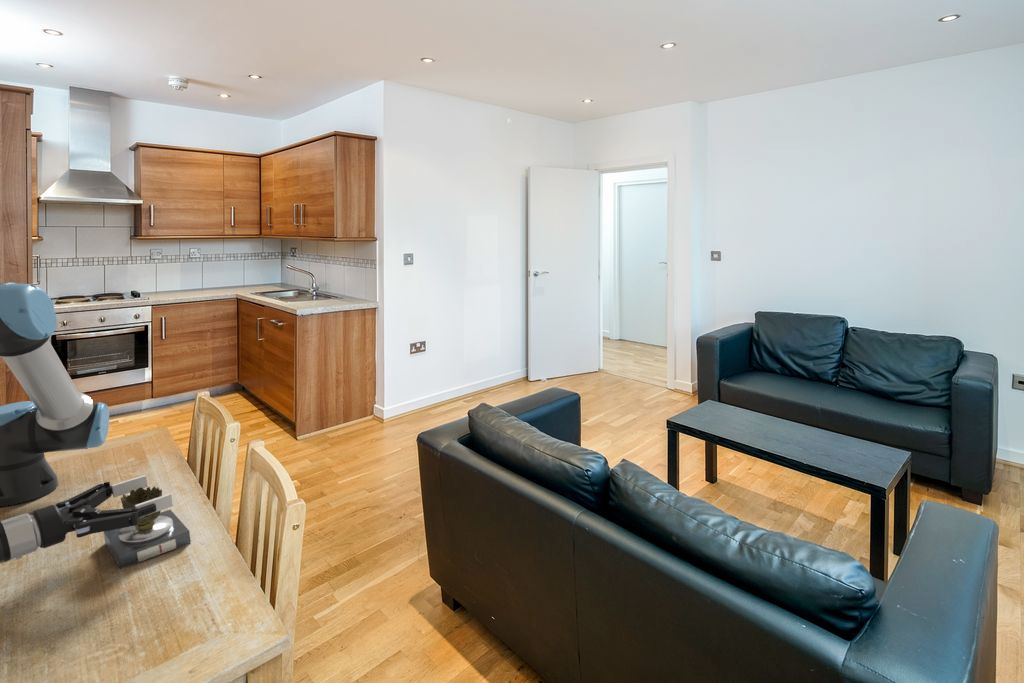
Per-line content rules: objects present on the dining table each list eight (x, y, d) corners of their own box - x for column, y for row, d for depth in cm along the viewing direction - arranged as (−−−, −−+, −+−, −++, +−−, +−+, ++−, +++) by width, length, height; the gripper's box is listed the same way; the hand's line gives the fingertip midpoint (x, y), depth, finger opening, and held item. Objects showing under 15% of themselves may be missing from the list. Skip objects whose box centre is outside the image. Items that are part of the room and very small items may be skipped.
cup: (145, 538, 116) (141, 503, 114) (116, 534, 117) (111, 499, 116) (173, 521, 123) (170, 488, 121) (145, 517, 124) (141, 484, 123)
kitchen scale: (105, 543, 121) (102, 527, 120) (171, 521, 130) (169, 506, 129) (121, 570, 111) (119, 553, 111) (192, 544, 121) (190, 528, 120)
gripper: (21, 526, 113) (138, 488, 129) (57, 574, 98) (184, 524, 114) (14, 492, 111) (134, 458, 128) (50, 536, 96) (180, 491, 113)
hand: (158, 489), depth 121 cm, fingers open, 13 cm apart
